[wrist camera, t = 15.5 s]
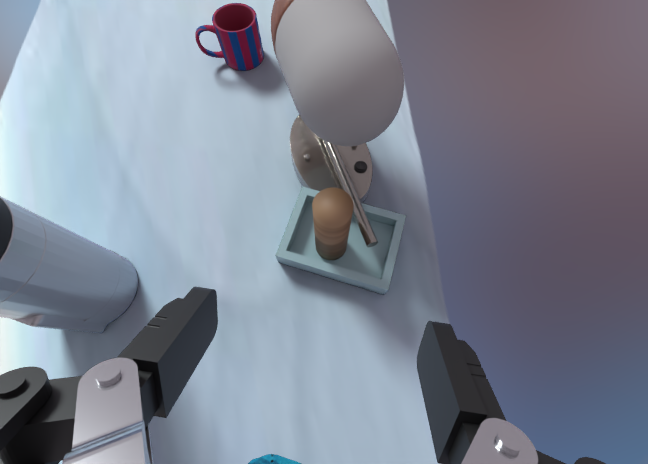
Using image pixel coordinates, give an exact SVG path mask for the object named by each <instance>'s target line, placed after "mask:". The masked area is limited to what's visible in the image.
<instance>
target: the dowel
mask: <svg viewBox="0 0 648 464" xmlns="http://www.w3.org/2000/svg"><path fill="white" fill-rule="evenodd" d="M353 207H354V205H353V200H352V198H351V196H350V195H349V194H348V193H347V192H346V191H344V190H342V189H340V188H326V189H323V190H321V191H320V192H319V193H317V195H316V196H315V197H314V199H313V203H312V209H313V221H314V233H315V245H316V251H317V253H318V254H319V255H320V256H321V257H322V258H324V259H326V260H337V259H339V258H340V257H342V256H343V255H344V253H345V251H346V248H347V242H348V236H349V231H350V225H351V219H352V213H353Z"/></svg>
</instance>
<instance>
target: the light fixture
mask: <svg viewBox="0 0 648 464" xmlns="http://www.w3.org/2000/svg"><path fill="white" fill-rule="evenodd" d="M271 32H272V41H273V46H274V51H275V54H276V58H277V60H278V63H279V65H280V68H281V70H282V73H283V75H284V78H285V80H286V83H287V86H288V88H289V91H290V93H291V96H292V98H293V101H294V103H295V106H296V108H297V111H298V112H299V114H300V115H299V116H298V117H297V118H296V120H295V121H294V123H293V126H292V129H291V134H290V147H291V156H292V162H293V166H294V170H295V172H296V175H297V177H298V179H299V181H300V183H301V184H302V186H303V187H306V188H310V189H313V190H317V191H321V190H323V189H326V188H340V189H342V190H344V191H346V192H347V193H348V194H349V195H350V196H351V198H352V200H353V205H354V207H353V215H354V217H355V220H356V222H357V225H358V227H359V229H360V232H361V234H362V237H363V239H364V241H365V244H366V246H367V247H373V246H375V245H376V244H378V241H377V238H376V236H375V234H374V231H373V229H372V227H371V224H370V222H369V220H368V217H367V215H366V213H365V211H364V208H363V206H362V204H361V203H363V202H364V200H365V199H366V197H367V194H368V191H369V188H370V184H371V180H372V161H371V157H370V153H369V150H368V147H367V145H366V142H369V141H371V140H372V139H374V138H376V137H377V136H379V135H380V134H381V133H382V132H384V131H385V130H386V129H387V127H388V126H389V125H390V124H391V123H392V121H393V120H394V118H395V116H396V114H397V113H398V110H399V107H400V104H401V101H402V97H403V90H404V74H403V68H402V65H401V61H400V58H399V56H398V53H397V51H396V48H395V46H394V44H393V43H392V41H391V40H390V38H389V37H388V35H387V33H386V32H385V30H384V29H383V27H382V25H381V24H380V22H379V21H378V19H377V17H376V16H375V14H374V13H373V11H372V9H371V8H370V6H369V5H368V3H367V1H366V0H275V2H274V5H273V10H272V16H271Z"/></svg>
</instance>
